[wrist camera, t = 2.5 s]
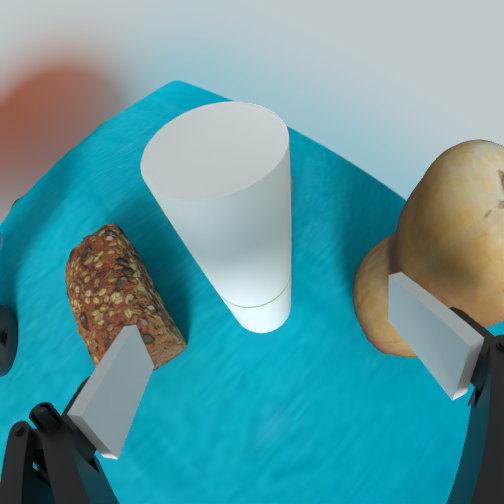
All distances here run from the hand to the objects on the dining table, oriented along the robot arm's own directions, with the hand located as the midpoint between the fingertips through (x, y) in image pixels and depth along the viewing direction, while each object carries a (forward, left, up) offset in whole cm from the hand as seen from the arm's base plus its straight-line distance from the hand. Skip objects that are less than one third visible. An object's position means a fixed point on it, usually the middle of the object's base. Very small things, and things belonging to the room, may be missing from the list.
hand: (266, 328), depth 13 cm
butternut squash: (+9, +13, -20) cm, 25 cm away
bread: (-20, -6, -20) cm, 29 cm away
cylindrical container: (-6, +5, -20) cm, 21 cm away
